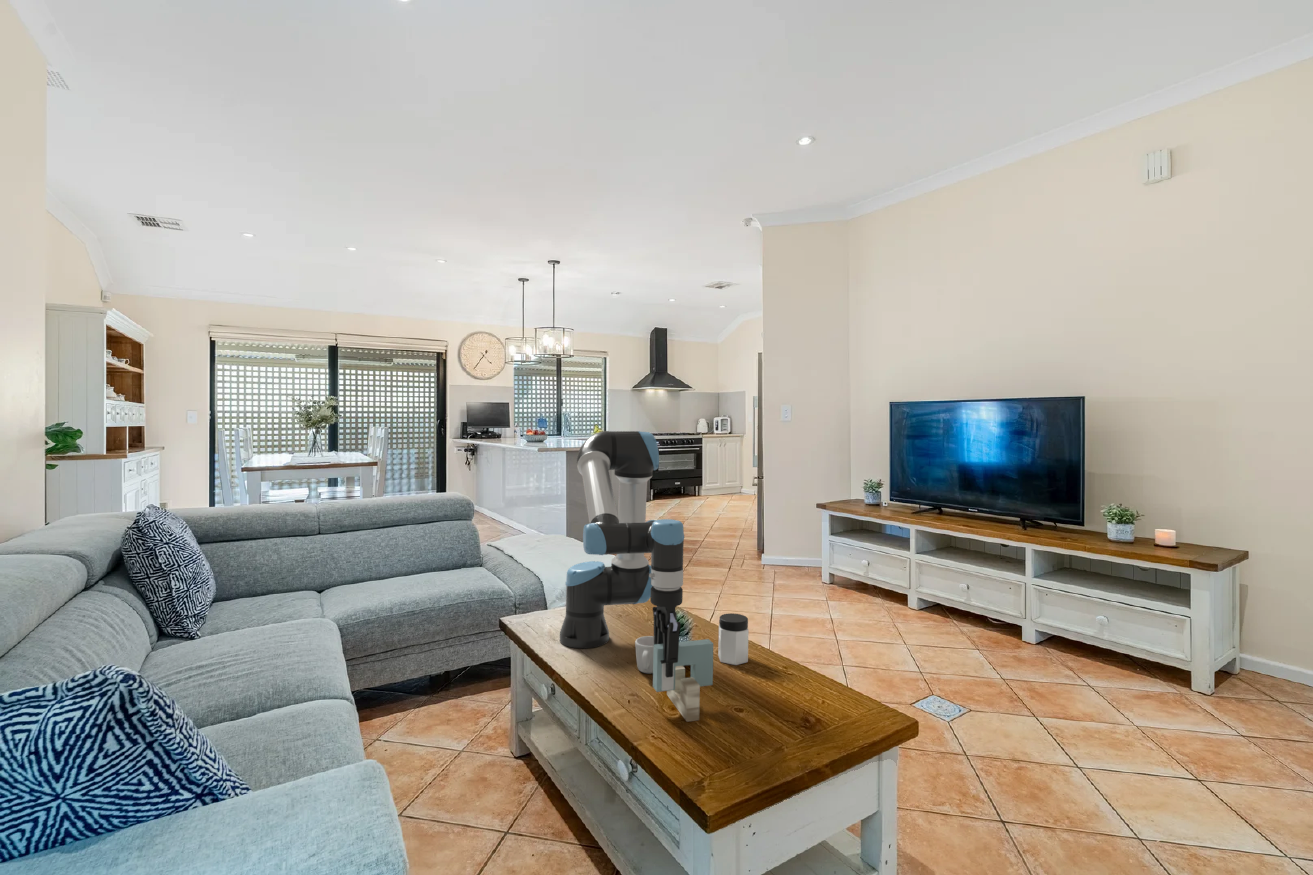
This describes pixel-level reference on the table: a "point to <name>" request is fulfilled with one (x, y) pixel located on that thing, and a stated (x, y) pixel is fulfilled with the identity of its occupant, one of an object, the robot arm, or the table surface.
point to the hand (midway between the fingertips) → (664, 685)
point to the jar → (733, 639)
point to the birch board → (685, 695)
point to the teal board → (687, 662)
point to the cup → (645, 653)
